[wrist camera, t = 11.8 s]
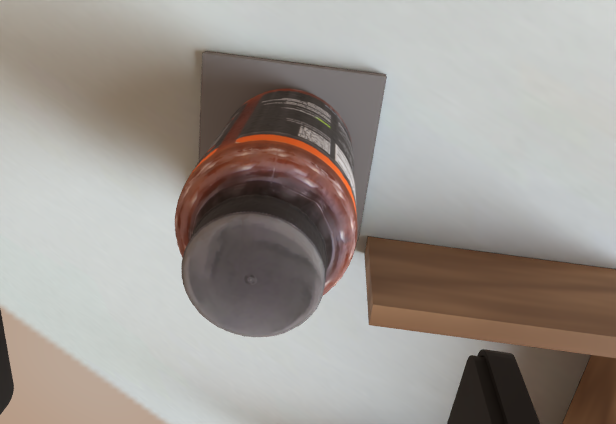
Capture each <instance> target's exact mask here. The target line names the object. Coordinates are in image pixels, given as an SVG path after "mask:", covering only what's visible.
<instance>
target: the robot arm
mask: <svg viewBox="0 0 616 424" xmlns="http://www.w3.org/2000/svg"><path fill="white" fill-rule="evenodd" d="M13 389H14V385H13V379H12V373H11V368H10V362H9V357H8V351H7V344H6V339H5V334H4V327H3V322H2V316H1V310H0V414H1V413H2V412H3V410H4V409H5V408H6V407H7V405H8V404H9V402H10V400H11V398H12V395H13ZM447 424H540V423H539V421H538V418H537V415H536V413H535V410H534V407H533V405H532V402H531V399H530V397H529V394H528V391H527V389H526V386H525V383H524V381H523V378H522V375H521V373H520V370H519V367H518V365H517V362H516V359H515V357H514V355H512V354H511V353H504V352H498V351H491V350H484V349H483V350H481V351H480V352H479V353H478V356H472V355H471V356H469V358H468V360H467V363H466V366H465V369H464V372H463V376H462V379H461V382H460V385H459V388H458V391H457V394H456V398H455V401H454V404H453V407H452V410H451V413H450V416H449V420H448V423H447Z"/></svg>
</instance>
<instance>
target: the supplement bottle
mask: <svg viewBox="0 0 616 424" xmlns="http://www.w3.org/2000/svg"><path fill="white" fill-rule="evenodd" d="M357 228H358V227H357V207H356V193H355V173H354V156H353V147H352V141H351V137H350V134H349V131H348V129H347V127H346V125H345V123H344V121H343V119H342V118H341V116H340V115H339V113H338V112H337V111H336V110H334V109H333V107H332V106H331V105H329V104H328V103H327V102H325V101H324V100H323V99H321V98H319V97H317V96H315V95H313V94H311V93H308V92H305V91H302V90H296V89H276V90H271V91H267V92H264V93H261V94H259V95H257V96H255V97H253V98H251V99H250V100H248V101H247V102H245V103H244V104H243V105H242V106H241V107H240V108H239V109H238V110H237V111H236V112H235V113H234V114H233V115H232V116H231V118H230V119H229V121H228V122H227V124H226V125H225V127H224V128H223V129H222V131H221V132H220V134H219V135H218V136H217V138H216V139H215V141H214V142H213V143H212V145H211V146H210V148H209V149H208V151H207V152H206V153H205V155H204V156H203V157H202V158H201V160H200V161H199V162H198V164H197V166H196V168H195V169H194V170H193V172H192V173H191V175H190V176H189V178H188V180H187V181H186V183H185V185H184V187H183V190H182V192H181V194H180V197H179V200H178V204H177V208H176V214H175V231H176V238H177V243H178V247H179V250H180V253H181V255H182V257H183V260H182V279H183V284H184V287H185V291H186V293H187V295H188V297H189V299H190V301H191V302H192V304H193V305H194V306H195V307H196V309H197V310H198V312H199V313H200V314H201V315H202V316H203V317H205V318H206V319H207V320H209V321H210V322H211V323H213V324H214V325H216V326H217V327H219V328H222V329H224V330H226V331H229V332H231V333H234V334H238V335H242V336H249V337H268V336H275V335H279V334H282V333H285V332H287V331H289V330H292V329H293V328H295V327H297V326H299V325H301V324H302V323H303V322H305V321H306V320H307V319H308V318H309V317H310V316H311V315H312V313H313V312H314V311H315V310H316V309H317V307H318V305H319V303H320V301H321V298H322V296H323V295H324V294H326V293H327V292H328V291H329V290H330V289H331V288H332V287H333V286H335V285H336V283H337V282H338V281H339V280H340V279H341V277H342V276H343V274H344V272H345V271H346V269H347V267H348V266H349V264H350V261H351V259H352V257H353V254H354V250H355V247H356V241H357Z"/></svg>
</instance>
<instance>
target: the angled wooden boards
mask: <svg viewBox="0 0 616 424" xmlns="http://www.w3.org/2000/svg"><path fill="white" fill-rule="evenodd" d="M365 268H366V285H367V301H368V318H369V325H373V326H381V327H388V328H396V329H403V330H411V331H418V332H425V333H433V334H440V335H448V336H455V337H462V338H470V339H477V340H485V341H492V342H500V343H507V344H514V345H522V346H529V347H537V348H544V349H551V350H559V351H566V352H574V353H581V354H589V355H591V357H590V359H589V362H588V364H587V366H586V369H585V371H584V373H583V376H582V378H581V380H580V383H579V385H578V388H577V390H576V392H575V395H574V397H573V399H572V402H571V404H570V407H569V409H568V411H567V414H566V416H565V418H564V421H563V423H562V424H616V269H609V268H601V267H594V266H586V265H578V264H571V263H563V262H556V261H548V260H541V259H533V258H526V257H518V256H511V255H503V254H496V253H488V252H481V251H473V250H466V249H458V248H451V247H443V246H435V245H428V244H420V243H413V242H405V241H398V240H390V239H383V238H375V237H368V238H367V244H366V249H365Z"/></svg>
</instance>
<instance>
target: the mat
mask: <svg viewBox="0 0 616 424" xmlns="http://www.w3.org/2000/svg"><path fill="white" fill-rule="evenodd" d="M386 78H387V77H386V74H378V73H371V72H363V71H355V70H348V69H340V68H332V67H324V66H317V65H309V64H301V63H293V62H286V61H278V60H270V59H262V58H255V57H247V56H239V55H231V54H224V53H216V52H208V51H205V52H203V53H202V81H201V112H200V143H199V161H200V160H201V158H202V157H203V156H204V155H205V153H206V152H207V151H208V149H209V148H210V146H211V145H212V143H213V142H214V141H215V139H216V138H217V136H218V135H219V134H220V132H221V131H222V129H223V128H224V127H225V125H226V124H227V122H228V121H229V119H230V118H231V116H232V115H233V114H234V113H235V112H236V111H237V110H238V109H239V108H240V107H241V106H242V105H243V104H244V103H245V102H247V101H248V100H250V99H251V98H253V97H255V96H257V95H259V94H261V93H264V92H267V91H271V90H276V89H296V90H302V91H305V92H308V93H311V94H313V95H315V96H317V97H319V98H321V99H323V100H324V101H325V102H327V103H328V104H329V105H331V106H332V107H333V109H334V110H336V111H337V112H338V113H339V115H340V116H341V118H342V119H343V121H344V123H345V125H346V127H347V129H348V131H349V134H350V137H351V141H352V147H353V156H354V173H355V193H356V207H357V227H358V228H357V241H358V238H359V233H360V227H361V221H362V215H363V210H364V204H365V198H366V192H367V187H368V181H369V175H370V170H371V164H372V158H373V152H374V147H375V141H376V135H377V129H378V124H379V118H380V112H381V106H382V101H383V95H384V89H385V83H386Z"/></svg>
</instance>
